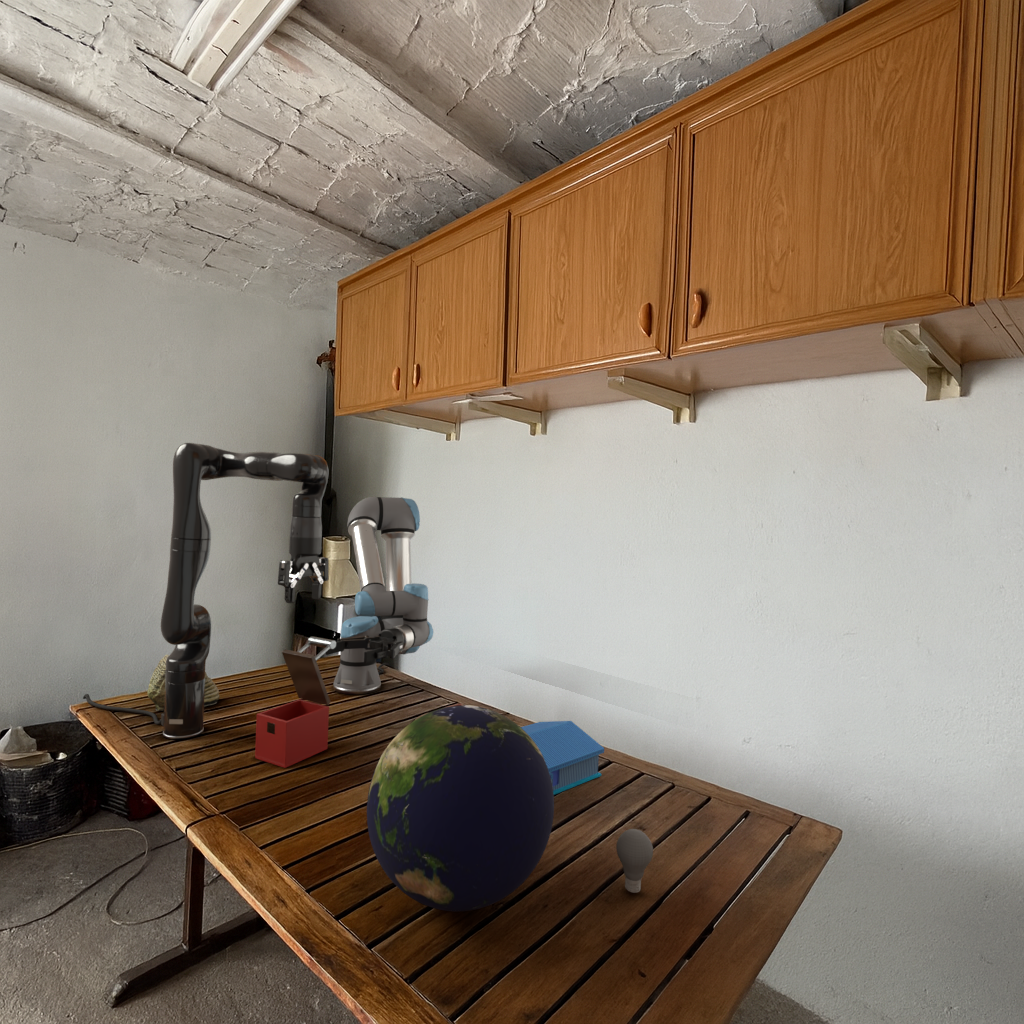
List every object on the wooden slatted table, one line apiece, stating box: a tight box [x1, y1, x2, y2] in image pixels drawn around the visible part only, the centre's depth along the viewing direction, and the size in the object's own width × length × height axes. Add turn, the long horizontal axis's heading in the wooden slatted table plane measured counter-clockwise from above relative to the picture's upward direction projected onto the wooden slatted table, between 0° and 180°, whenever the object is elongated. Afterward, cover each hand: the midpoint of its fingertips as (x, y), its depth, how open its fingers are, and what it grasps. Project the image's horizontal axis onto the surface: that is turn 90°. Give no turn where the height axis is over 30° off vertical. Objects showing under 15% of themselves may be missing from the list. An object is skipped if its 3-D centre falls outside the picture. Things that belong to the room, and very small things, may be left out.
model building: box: [520, 720, 605, 796], centre depth 143 cm, size 39×24×10 cm, turn 132°
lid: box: [281, 636, 337, 706], centre depth 161 cm, size 15×10×10 cm
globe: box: [366, 704, 555, 913], centre depth 102 cm, size 30×30×30 cm
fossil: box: [147, 654, 221, 712], centre depth 185 cm, size 9×18×15 cm, turn 132°
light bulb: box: [615, 828, 654, 894], centre depth 106 cm, size 6×6×10 cm
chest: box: [254, 698, 330, 769], centre depth 155 cm, size 14×10×11 cm
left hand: (303, 600), depth 156 cm, fingers open, 8 cm apart
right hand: (345, 653), depth 170 cm, fingers open, 13 cm apart
